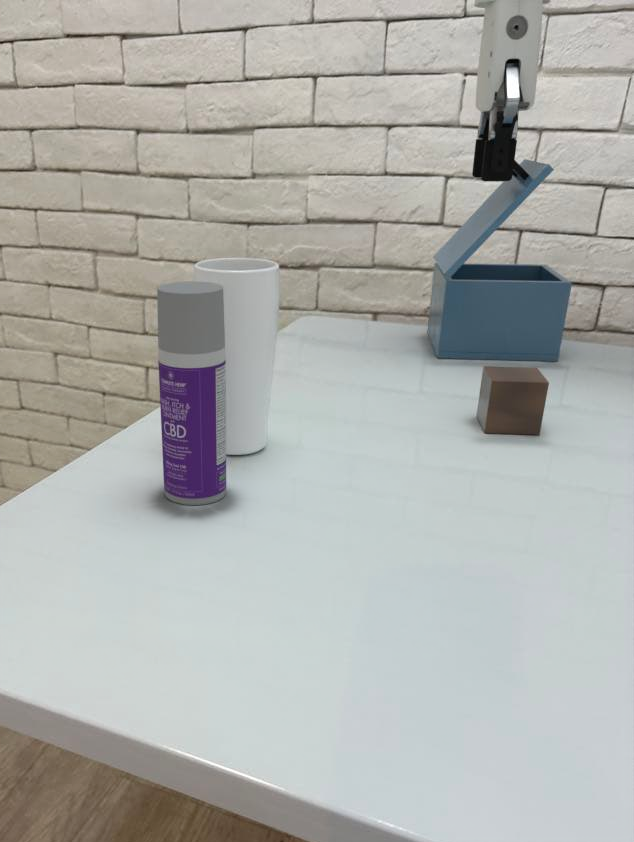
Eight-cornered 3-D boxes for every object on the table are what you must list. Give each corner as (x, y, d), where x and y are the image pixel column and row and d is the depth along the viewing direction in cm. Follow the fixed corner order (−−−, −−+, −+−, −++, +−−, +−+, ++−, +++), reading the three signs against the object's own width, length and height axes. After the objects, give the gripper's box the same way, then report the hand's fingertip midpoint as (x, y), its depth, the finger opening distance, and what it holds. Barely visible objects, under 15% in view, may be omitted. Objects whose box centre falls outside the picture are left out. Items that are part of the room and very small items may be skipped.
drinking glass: (183, 454, 69) (178, 267, 62) (215, 428, 74) (213, 255, 67) (259, 465, 66) (262, 273, 59) (286, 438, 72) (291, 260, 65)
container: (157, 503, 60) (147, 292, 53) (172, 478, 64) (164, 280, 57) (220, 507, 59) (218, 294, 52) (231, 482, 63) (230, 281, 56)
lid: (529, 163, 96) (498, 132, 95) (554, 169, 85) (520, 133, 84) (437, 261, 103) (407, 232, 101) (449, 278, 91) (416, 246, 90)
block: (528, 417, 77) (537, 367, 74) (539, 435, 72) (549, 382, 70) (476, 416, 77) (483, 365, 75) (484, 433, 73) (491, 380, 71)
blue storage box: (534, 335, 105) (546, 264, 101) (557, 361, 94) (572, 282, 90) (427, 333, 107) (434, 263, 103) (437, 358, 96) (446, 280, 92)
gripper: (572, -28, 76) (542, 183, 84) (534, -3, 91) (511, 174, 99) (489, -25, 77) (467, 184, 85) (465, 0, 92) (448, 175, 100)
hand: (491, 177), depth 92 cm, fingers closed on lid, 6 cm apart
